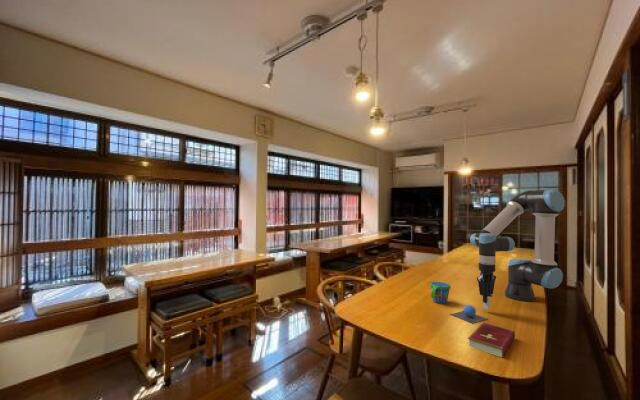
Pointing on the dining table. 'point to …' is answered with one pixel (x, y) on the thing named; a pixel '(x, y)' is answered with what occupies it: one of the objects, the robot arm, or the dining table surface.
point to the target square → (469, 319)
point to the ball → (469, 311)
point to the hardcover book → (492, 339)
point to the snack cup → (440, 292)
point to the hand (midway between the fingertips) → (486, 308)
